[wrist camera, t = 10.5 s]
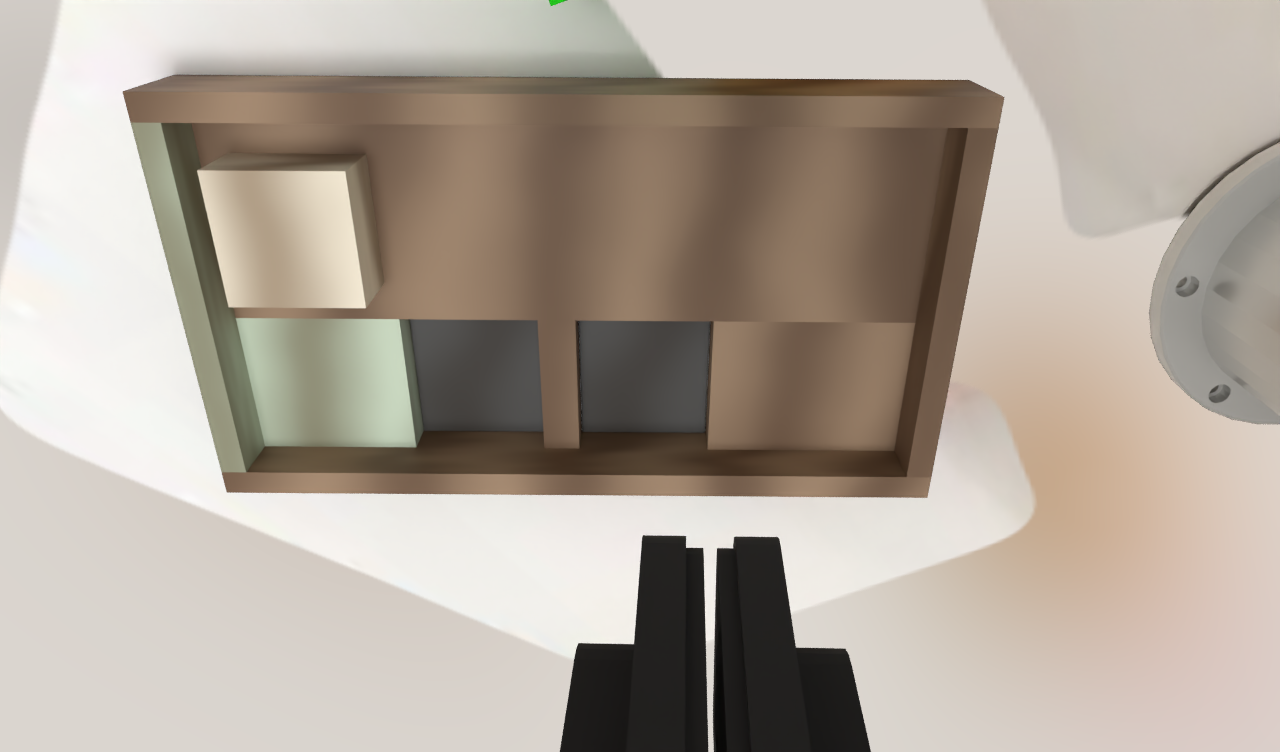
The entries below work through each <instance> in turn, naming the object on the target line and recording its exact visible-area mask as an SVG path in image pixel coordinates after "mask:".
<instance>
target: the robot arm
mask: <svg viewBox="0 0 1280 752" xmlns="http://www.w3.org/2000/svg"><path fill="white" fill-rule="evenodd" d="M1149 315H1150V328H1151V338H1152V341H1153V344H1154V348H1155V351H1156V353H1157V357H1158V360H1159V361H1160V363H1161V364H1162V366H1163V368H1164V369H1165V370H1166V372H1167V373H1168V375H1169V377H1170V378H1171V380H1173V381H1174V382H1175V383H1176V384H1177V385H1178V386H1179V387H1180V388H1181V389H1182V390H1183V391H1184V392H1185V393H1186V394H1187V395H1188V396H1190V397H1191V398H1192V399H1194V400H1195V401H1196V402H1198V403H1199V404H1200V405H1202V406H1203V407H1204V408H1206V409H1208V410H1210V411H1212V412H1215V413H1218V414H1220V415H1223V416H1225V417H1227V418H1230V419H1233V420H1238V421H1244V422H1249V423H1255V424H1280V142H1279V143H1277V144H1275V145H1273V146H1271V147H1269V148H1268V149H1266V150H1264V151H1262V152H1260V153H1258V154H1256V155H1255V156H1253V157H1252V158H1251V159H1249V160H1248V161H1246V162H1245V163H1244V164H1242V165H1241V166H1240V167H1238V168H1237V169H1235V170H1234V171H1233V172H1231V173H1230V174H1228V175H1227V176H1226V177H1225V178H1224V179H1223V180H1222V181H1221V182H1220V183H1218V184H1217V185H1216V186H1215V187H1214V188H1213V189H1212V190H1211V191H1210V192H1209V193H1208V194H1207V195H1206V196H1205V197H1204V198H1203V199H1202V200H1201V201H1200V202H1199V203H1198V204H1197V206H1196V207H1195V208H1194V210H1193V211H1192V212H1191V213H1190V215H1189V216H1188V217H1187V219H1186V220H1185V221H1184V222H1183V224H1182V225H1181V226H1180V228H1179V229H1178V231H1177V233H1176V234H1175V236H1174V238H1173V240H1172V242H1171V243H1170V245H1169V247H1168V249H1167V251H1166V252H1165V254H1164V256H1163V258H1162V261H1161V264H1160V267H1159V270H1158V273H1157V275H1156V278H1155V281H1154V284H1153V290H1152V297H1151V304H1150V310H1149ZM714 651H715V652H714V653H715V654H714V693H713V737H714V752H871V751H870V746H869V741H868V737H867V733H866V728H865V723H864V719H863V714H862V710H861V706H860V701H859V696H858V692H857V687H856V683H855V678H854V674H853V670H852V665H851V662H850V658H849V655H848V653H847V651H846V649H834V648H796V646H795V640H794V633H793V626H792V619H791V613H790V606H789V599H788V593H787V586H786V579H785V573H784V566H783V559H782V553H781V546H780V541H779V538H778V537H734V544H733V549H729V548H717V565H716V607H715V649H714ZM707 722H708V720H707V679H706V638H705V597H704V556H703V548H686V536H645V535H643V537H642V548H641V561H640V575H639V588H638V601H637V614H636V627H635V640H634V644H588V643H579V644H578V646H577V649H576V654H575V659H574V666H573V671H572V678H571V685H570V691H569V697H568V703H567V710H566V716H565V723H564V729H563V736H562V741H561V748H560V752H708V725H707V724H708V723H707Z"/></svg>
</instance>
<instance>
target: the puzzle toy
mask: <svg viewBox="0 0 1280 752" xmlns="http://www.w3.org/2000/svg"><path fill="white" fill-rule="evenodd" d="M564 1H567V0H549V2H550V5H551V6H553V5H555V4H558V3H561V2H564Z"/></svg>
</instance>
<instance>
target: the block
mask: <svg viewBox="0 0 1280 752" xmlns="http://www.w3.org/2000/svg"><path fill="white" fill-rule="evenodd" d="M197 173H198V177H199V181H200V185H201V190H202V194H203V198H204V203H205V207H206V211H207V216H208V220H209V224H210V229H211V233H212V237H213V242H214V246H215V250H216V255H217V259H218V263H219V268H220V272H221V276H222V281H223V285H224V289H225V294H226V298H227V302H228V307H253V308H367V306H368V305H369V304H370V302H371V301H372V299H373V298H374V297H375V295H376V294H377V292H378V291H379V290H380V288H381V287H382V286H383V284H384V277H383V270H382V263H381V255H380V248H379V241H378V234H377V227H376V220H375V212H374V205H373V198H372V191H371V184H370V177H369V170H368V162H367V155H366V154H301V153H228V154H226V155H224V156H222V157H220V158H219V159H217V160H215V161H213V162H211V163H210V164H208V165H206V166H204V167H202V168H200V169H199V170H197Z"/></svg>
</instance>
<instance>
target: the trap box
mask: <svg viewBox="0 0 1280 752" xmlns="http://www.w3.org/2000/svg"><path fill="white" fill-rule="evenodd" d="M123 95H124V99H125V103H126V106H127V110H128V114H129V118H130V122H131V126H132V130H133V133H134V137H135V141H136V145H137V149H138V153H139V156H140V160H141V164H142V168H143V172H144V176H145V179H146V183H147V187H148V191H149V195H150V199H151V203H152V206H153V210H154V214H155V218H156V222H157V226H158V229H159V233H160V237H161V241H162V245H163V249H164V252H165V256H166V260H167V264H168V268H169V272H170V276H171V279H172V283H173V287H174V291H175V295H176V299H177V302H178V306H179V310H180V314H181V318H182V322H183V325H184V329H185V333H186V337H187V341H188V345H189V349H190V352H191V356H192V360H193V364H194V368H195V372H196V375H197V379H198V383H199V387H200V391H201V395H202V398H203V402H204V406H205V410H206V414H207V418H208V422H209V425H210V429H211V433H212V437H213V441H214V445H215V448H216V452H217V456H218V460H219V464H220V468H221V471H222V475H223V479H224V483H225V487H226V491H227V492H242V493H376V494H510V495H644V496H778V497H913V498H927V496H928V491H929V486H930V481H931V476H932V470H933V465H934V460H935V455H936V450H937V445H938V439H939V434H940V429H941V424H942V419H943V413H944V408H945V403H946V398H947V393H948V387H949V382H950V377H951V372H952V367H953V361H954V356H955V351H956V346H957V341H958V335H959V330H960V325H961V320H962V315H963V310H964V304H965V299H966V294H967V289H968V284H969V278H970V273H971V267H972V263H973V258H974V252H975V247H976V242H977V237H978V232H979V226H980V221H981V215H982V211H983V206H984V200H985V195H986V190H987V185H988V180H989V175H990V169H991V164H992V159H993V153H994V149H995V143H996V138H997V133H998V128H999V123H1000V117H1001V112H1002V106H1003V102H1004V97H1003V96H1001V95H999V94H997V93H995V92H993V91H991V90H988V89H986V88H984V87H982V86H980V85H978V84H976V83H974V82H972V81H970V80H868V79H866V80H865V79H864V80H863V79H855V80H854V79H712V78H710V79H709V78H706V79H705V78H556V77H400V76H244V75H172V76H169V77H166V78H163V79H160V80H157V81H154V82H151V83H148V84H144V85H141V86H138V87H135V88H132V89H129V90H126V91H123ZM228 153H301V154H366V155H367V162H368V170H369V177H370V184H371V191H372V198H373V205H374V212H375V220H376V227H377V234H378V241H379V248H380V255H381V263H382V270H383V277H384V284H383V286H382V287H381V288H380V290H379V291H378V292H377V294H376V295H375V297H374V298H373V299H372V301H371V302H370V304H369V305H368V306H367V308H253V307H228V302H227V298H226V294H225V289H224V285H223V281H222V276H221V272H220V268H219V263H218V259H217V255H216V250H215V246H214V242H213V237H212V233H211V229H210V224H209V220H208V216H207V211H206V207H205V203H204V198H203V194H202V190H201V185H200V181H199V177H198V173H197V170H199V169H200V168H202V167H204V166H206V165H208V164H210V163H211V162H213V161H215V160H217V159H219V158H220V157H222V156H224V155H226V154H228ZM578 321H579V325H578ZM710 321H711V323H710ZM709 328H710V345H709ZM579 331H580V359H579ZM708 349H709V366H708ZM580 365H581V392H580ZM707 371H708V387H707ZM706 392H707V409H706ZM581 399H582V425H581ZM705 414H706V430H705Z"/></svg>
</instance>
